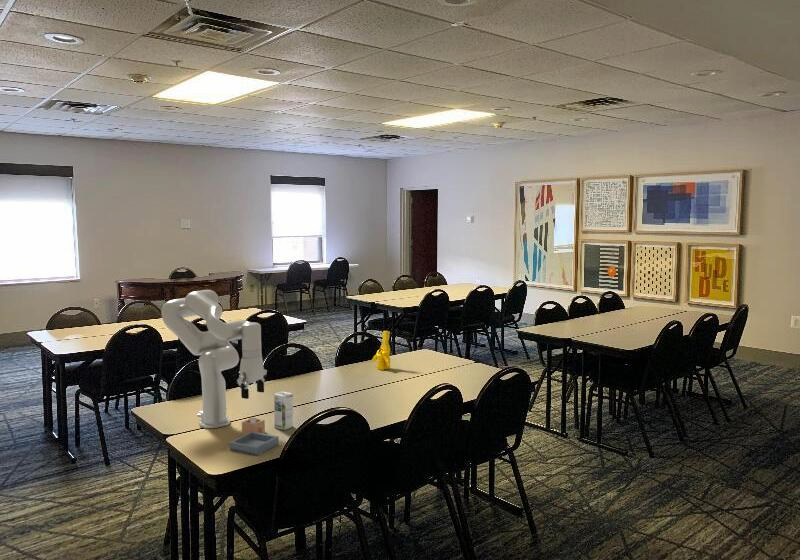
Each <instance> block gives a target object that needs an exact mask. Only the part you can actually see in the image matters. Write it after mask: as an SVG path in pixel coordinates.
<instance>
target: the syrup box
mask: <svg viewBox="0 0 800 560" xmlns="http://www.w3.org/2000/svg"><path fill="white" fill-rule="evenodd" d="M273 405H274V406H273V408H274V409H273V410H274V411H273V412H274V413H273V414H274V415H273V417H274V429H279V430H283V431H286V430H288V429H290V428H293V427H294V393H293V392H286V391H279V392H276V393H274V395H273Z"/></svg>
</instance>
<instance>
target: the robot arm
mask: <svg viewBox="0 0 800 560" xmlns="http://www.w3.org/2000/svg"><path fill="white" fill-rule="evenodd" d="M219 303H220V299H219V296H218V294H217V293H216V291H214V290H212V289H202V290H196V291H191V292H189V293H187V295H186V296H185V297H182V298H176V299H171V300H168V301H166V302H165V303H163V305H162V307H161V310H160V311H161V312H160V313H161V318H162V321H163V323H164V324H165V326H166V328H167V329H169V331H171V333H173V334H174V335H175V336H176V337H177V338H178V339H179V340H180V342H181V344H183V345H184V346H185V348H187V350H188V351H189V352H190V353H191V354H192V355H193V356H199V358H198V368H199V372H200V377H201V391H202V392H201V394H202V410H200V411H198V413H197V415H196V417H198V418H201V419H200V421H199V424H198V425H199V427H201V428H206V429H217V428H222V427H226V426H228V425H229V424H230V423H231V418H229V417H227V392H226V380H225V377H224V376H223V374H222V372H224V371H225V370H226V371H227V370H229V369H232V368H235V367H236V366H238V363H239V361H240V365H239V377H238V378H237V379H236V382H237V384H238V387H239V389H240V391H241V392H240V393H241V395H240V396H241V399H245V400H248V399H249V398H250V397H249V395H250V394H249V385H250V384H252V383H254V382H256V392H258V393H265V383H266V378H267V372H268V370H267V369H265V368H264V359H263V354H262V326H261V324H260V323H258V322H252V321H248V320H245V319H240V320H234V321H228V322H223V321H222V320H220V318H221V316H222V314H223V307H222V306H221V305H220V304H219ZM194 316H195V317H197V316H198V317H200V318H201V319H203V320H204V321H206V322H205V324H206V327H207V331H201V330H200V329H199V328H198V327H197V326H196V325H195V324H194V323H193V322H191V321H190V320H187V319H186V318H189V317H194ZM236 340H241V352H242V353H241V359H240V357H239V353H238V351H237V349H236V348H235V347H234V346H233V345H232V343H230V342H233V341H236Z"/></svg>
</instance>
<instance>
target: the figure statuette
mask: <svg viewBox="0 0 800 560" xmlns="http://www.w3.org/2000/svg"><path fill="white" fill-rule="evenodd" d="M381 338H382V343H381V345H380V347H379V349H378V350H377V351H376V354H375V355H373V357H372V359H371V361H370V362H372V363H374V362H375V361H376V360H377V361H376V369H377V370H379V371H381V370H382V371H383V370H389V369H390V368H391V357H390V353H391V347H390V344H389V341H390V331H388V330H383V331H382V337H381Z"/></svg>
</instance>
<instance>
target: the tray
mask: <svg viewBox="0 0 800 560" xmlns="http://www.w3.org/2000/svg"><path fill="white" fill-rule="evenodd" d="M279 441H280V439H279V436H278V435H273V434H269V433H267V434H266V433H264V434H263V433H257V432H252V431H251V432H249V433H247V434H245V435H243V434H242V435H241V436H239V437H237V438H235V439H233V440H232V441H229V442H228V443H229V444H228V446H229V447H228V448H229V451H232V452H236V453H237V452H238V453H242V454H247V455H252V456H256V457H257V456H260V455H261V454H263V453H265V452H267V451H268V450H270V449H272V448H274V447H276V446H278V445H279V444H280V442H279Z"/></svg>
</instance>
